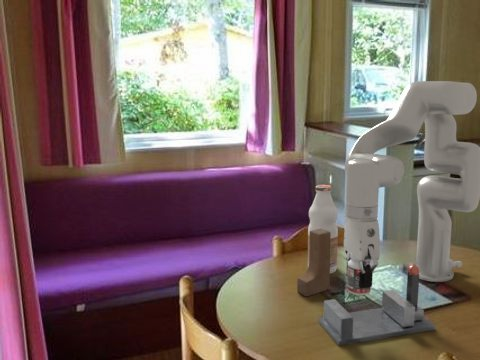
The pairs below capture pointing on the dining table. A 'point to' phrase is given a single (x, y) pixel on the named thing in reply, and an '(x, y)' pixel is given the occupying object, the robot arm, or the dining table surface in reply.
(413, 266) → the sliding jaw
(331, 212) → the fruit juice
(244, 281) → the dining table surface
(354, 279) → the pill bottle
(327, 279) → the wooden block
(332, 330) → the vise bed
